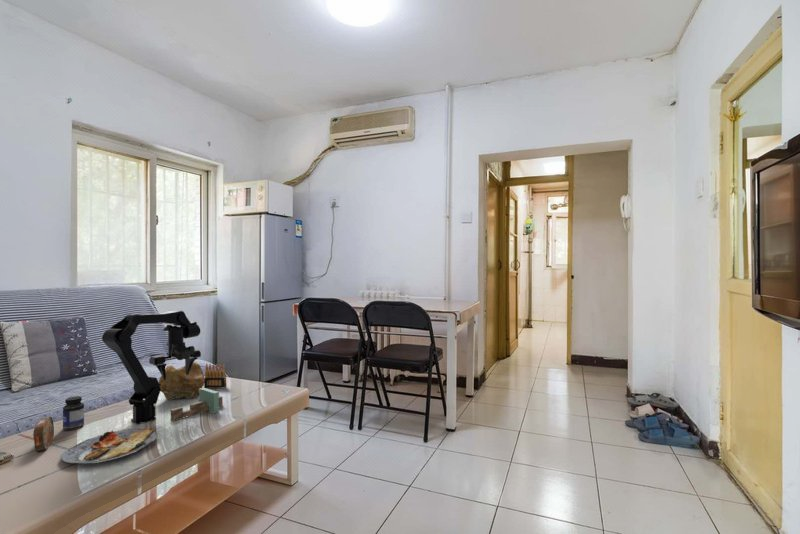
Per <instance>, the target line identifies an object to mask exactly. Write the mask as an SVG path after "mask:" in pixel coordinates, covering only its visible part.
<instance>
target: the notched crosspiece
mask: <svg viewBox="0 0 800 534" xmlns="http://www.w3.org/2000/svg"><path fill="white" fill-rule="evenodd" d="M219 393H220V392H219V391H216V390H214V389H211V388H204V387H202V388H200V389H199V392H198V402H200V401H205V405H206V406H209V410H208V412H209V411H210V413H212V412H213V413H212V414H217V413H219V412H220V407H219V396H220V394H219Z"/></svg>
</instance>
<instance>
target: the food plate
mask: <svg viewBox="0 0 800 534" xmlns="http://www.w3.org/2000/svg"><path fill="white" fill-rule="evenodd" d="M158 438H159V435H158V433H157V432H156V431H155V430H154V428H153V427H150V428H147V429H146V428H128V429H127V428H126V429H120V430H115V431H114V430H111V431H106V432H104V433H103V434H100V435H97V436H95V437H91V438H87V439H85V440H82V442H80V443H78V444H76V445H74V446H71V447H70V448H68V449H66V450H64V451H63V453H61V454H60V455H59V459H60V460H62V461H63V462H66V463H69V464H81V465H83V464H97V463H98V464H99V463H104V462H113V461H115V460H116V459H120V458H123V457H125V456H128V455H131V454H134V453H136V452H138V451H139V450H141V449H143V448H145V447H147V446H148V445H149V444H151V443H153V441H155V440H156V439H158ZM87 452H89V453H87ZM86 453H87V454H86ZM84 454H85V455H84ZM83 455H84V457H83ZM81 457H83V458H82V459H83V460H82V459H80V458H81ZM97 459H98V460H97Z"/></svg>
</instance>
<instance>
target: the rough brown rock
mask: <svg viewBox="0 0 800 534" xmlns="http://www.w3.org/2000/svg"><path fill="white" fill-rule="evenodd" d="M166 366H167V365H166ZM165 371H166V380H164V379H163V377H162V375H160V376H159V379H158V383H159V384H160V385H161V386H160V388H161V391H160V393H162V394H163V396H164V398H165V399H167V400H168V401H171V400H173V398H174V399H182V398H186V399H193V398H195V397H197V395H199V389H200V388H204V383H205V373H204V371H203V370H202V367H201V365H200V364H199V363H198V362H195V361H194V362H193V364H192V366H191V369H190V371H189V374H188V375H186V367H185V365H184V366H183V367H182V368H175V367H174V366H173V365H168V366H167V367H165Z"/></svg>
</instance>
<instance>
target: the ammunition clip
mask: <svg viewBox="0 0 800 534" xmlns="http://www.w3.org/2000/svg"><path fill="white" fill-rule="evenodd" d="M204 368H205V369H204V370H205V371H204V378H205V383H204V385H203V388H204V387H225V388H227V387H226V386H227V374H226V365H225V363H222V364H221V363H219V365H218V363H216V364H215V363H212V364H211V363H209V364H208V363H205V367H204Z"/></svg>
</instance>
